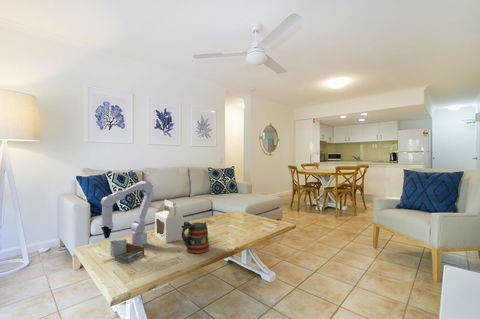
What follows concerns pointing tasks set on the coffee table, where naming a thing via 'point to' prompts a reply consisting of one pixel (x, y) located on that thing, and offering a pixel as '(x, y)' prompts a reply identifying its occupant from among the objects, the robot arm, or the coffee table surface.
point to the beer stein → (196, 237)
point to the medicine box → (118, 247)
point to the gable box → (168, 222)
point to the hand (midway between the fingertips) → (107, 238)
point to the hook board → (131, 248)
